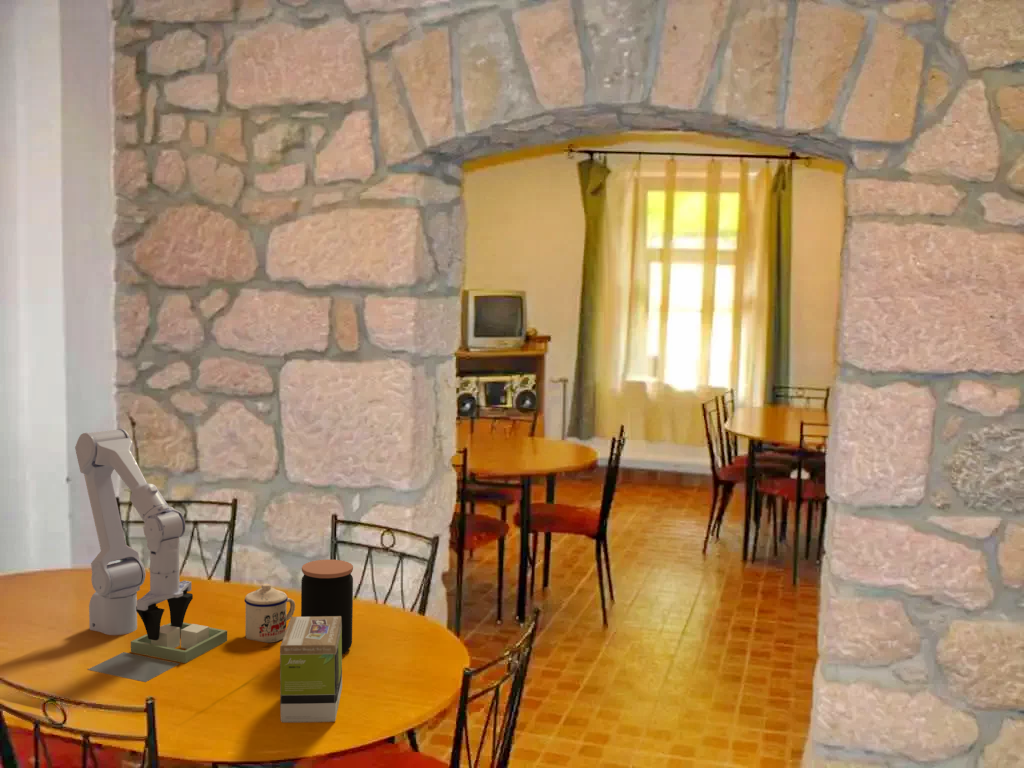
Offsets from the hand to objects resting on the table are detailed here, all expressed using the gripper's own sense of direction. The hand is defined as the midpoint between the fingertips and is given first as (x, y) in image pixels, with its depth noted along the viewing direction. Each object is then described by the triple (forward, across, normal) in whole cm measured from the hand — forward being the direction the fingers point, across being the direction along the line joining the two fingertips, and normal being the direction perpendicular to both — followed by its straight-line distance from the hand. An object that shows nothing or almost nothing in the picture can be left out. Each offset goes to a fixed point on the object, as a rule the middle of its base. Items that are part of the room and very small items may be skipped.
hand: (165, 633), depth 213 cm
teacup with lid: (+4, +17, -14) cm, 23 cm away
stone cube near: (+3, 0, 0) cm, 3 cm away
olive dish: (+4, +2, -2) cm, 5 cm away
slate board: (+4, -11, -2) cm, 12 cm away
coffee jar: (+4, +15, -30) cm, 33 cm away
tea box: (+4, -10, -42) cm, 43 cm away
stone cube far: (+3, +3, -5) cm, 7 cm away
